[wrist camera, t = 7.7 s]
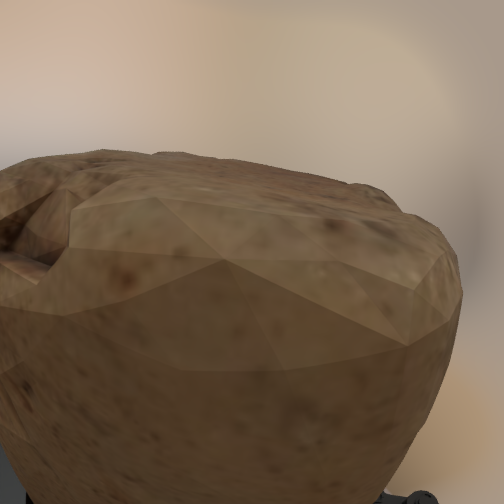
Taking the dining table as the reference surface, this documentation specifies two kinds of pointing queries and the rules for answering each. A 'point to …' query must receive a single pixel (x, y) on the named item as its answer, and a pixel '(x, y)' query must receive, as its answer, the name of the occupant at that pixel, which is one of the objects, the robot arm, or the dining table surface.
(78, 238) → the block
